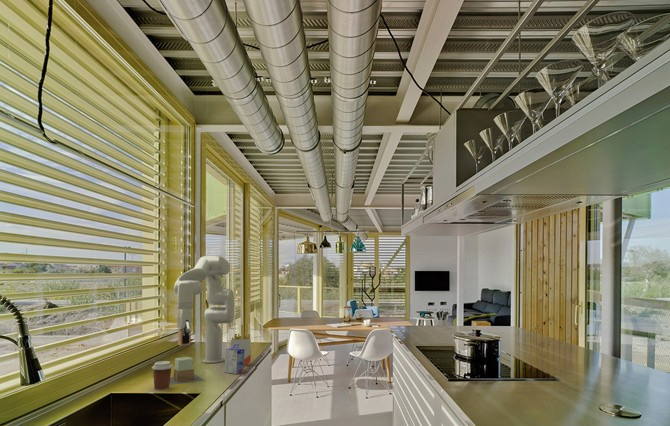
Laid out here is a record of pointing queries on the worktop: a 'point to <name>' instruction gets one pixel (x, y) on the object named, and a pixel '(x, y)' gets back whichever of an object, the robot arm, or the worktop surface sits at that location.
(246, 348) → the french fries container
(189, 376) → the block bottom
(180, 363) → the block top
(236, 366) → the ink cartridge box
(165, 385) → the coffee cup
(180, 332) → the block pick
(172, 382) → the mat
